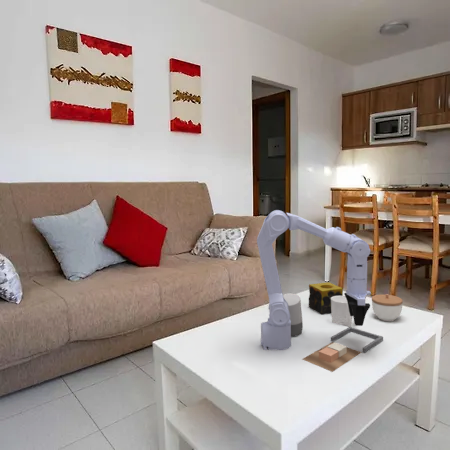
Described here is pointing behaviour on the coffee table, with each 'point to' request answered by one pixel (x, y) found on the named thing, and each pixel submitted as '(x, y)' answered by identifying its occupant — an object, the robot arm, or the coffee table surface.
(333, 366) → the brown wooden board
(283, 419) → the coffee table surface
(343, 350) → the cream tile
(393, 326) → the coffee table surface
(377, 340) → the tray
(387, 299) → the lidded jar
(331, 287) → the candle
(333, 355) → the terracotta tile
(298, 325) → the smart speaker
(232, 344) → the coffee table surface
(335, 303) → the white cup
